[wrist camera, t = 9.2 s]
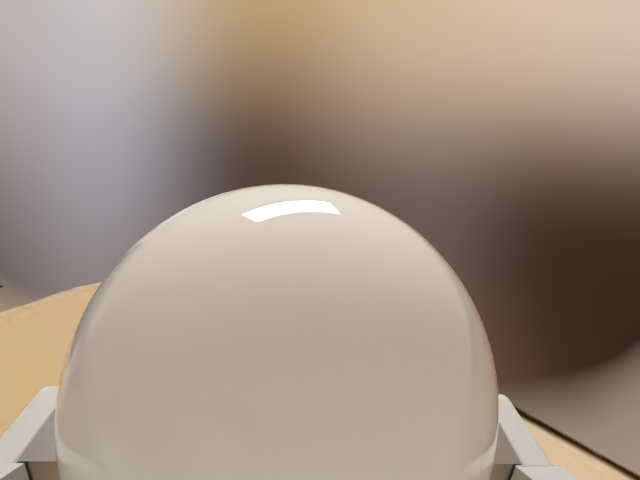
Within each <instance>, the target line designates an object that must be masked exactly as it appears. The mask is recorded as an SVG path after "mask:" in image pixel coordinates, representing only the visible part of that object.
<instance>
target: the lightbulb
mask: <svg viewBox="0 0 640 480" xmlns="http://www.w3.org/2000/svg"><path fill="white" fill-rule="evenodd" d="M498 426H499V400H498V387H497V378H496V372H495V366H494V362H493V357H492V352H491V349H490V345H489V342H488V338H487V335H486V332H485V330H484V327H483V324H482V322H481V319H480V317H479V314H478V312H477V310H476V308H475V306H474V304H473V302H472V300H471V298H470V296H469V294H468V293H467V291H466V289H465V287H464V286H463V284H462V283H461V281H460V279H459V278H458V276H457V275H456V274H455V272H454V271H453V269H452V268H451V267H450V266H449V264H448V263H447V262H446V261H445V259H444V258H443V257H442V256H441V255H440V254H439V252H438V251H437V250H436V249H435V248H434V247H433V246H432V245H431V244H430V243H429V242H428V241H427V240H426V239H425V238H423V237H422V236H421V235H420V234H419V233H418V232H416V231H415V230H414V229H413V228H411V227H410V226H409V225H407V224H406V223H405V222H403V221H401V220H400V219H398V218H397V217H396V216H394V215H392V214H391V213H389V212H387V211H385V210H384V209H382V208H380V207H378V206H376V205H374V204H372V203H369V202H367V201H365V200H362V199H360V198H357V197H354V196H352V195H349V194H346V193H342V192H339V191H335V190H331V189H326V188H321V187H316V186H308V185H295V184H275V185H263V186H255V187H248V188H243V189H238V190H234V191H230V192H226V193H223V194H219V195H217V196H214V197H211V198H208V199H206V200H203V201H201V202H199V203H196V204H194V205H192V206H190V207H188V208H186V209H184V210H182V211H180V212H179V213H177V214H175V215H173V216H172V217H170V218H168V219H167V220H165V221H164V222H163V223H161V224H160V225H158V226H157V227H155V228H154V229H153V230H152V231H150V232H149V233H148V234H146V235H145V236H144V237H143V238H142V239H141V240H139V241H138V242H137V243H136V244H135V245H134V246H133V247H132V248H131V249H130V250H129V251H128V252H127V253H126V254H125V255H124V256H123V257H122V258H121V259H120V260H119V262H117V264H116V265H115V266H114V267H113V268H112V270H111V271H110V272H109V273H108V275H107V276H106V277H105V279H104V280H103V281H102V283H101V284H100V286H99V287H98V289H97V290H96V292H95V293H94V295H93V296H92V298H91V300H90V301H89V303H88V305H87V307H86V308H85V310H84V312H83V314H82V316H81V318H80V320H79V323H78V325H77V327H76V329H75V332H74V334H73V337H72V339H71V342H70V345H69V347H68V350H67V354H66V357H65V360H64V364H63V367H62V372H61V376H60V381H59V386H58V392H57V399H56V409H55V429H54V432H55V454H56V463H57V470H58V476H59V480H490V479H491V475H492V471H493V467H494V461H495V455H496V449H497V440H498Z"/></svg>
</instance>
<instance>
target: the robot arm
mask: <svg viewBox="0 0 640 480" xmlns="http://www.w3.org/2000/svg"><path fill="white" fill-rule="evenodd" d="M57 392H58V386H47V387H45V388H43V389H42V390H40V391H39V392H38V393H37V394H36V395H35V396H34V398H33V399H32V400H31V401H30V402H29V404H28V405H27V406H26V407H25V408H24V410H23V411H22V412H21V413H20V415H19V416H18V417H17V418H16V419H15V421H14V422H13V423H12V424H11V425H10V427H9V428H8V429H7V430H6V431H5V433H4V434H3V435H2V436H1V437H0V480H59V476H58V470H57V463H56V454H55V432H54V429H55V409H56V399H57ZM498 400H499V426H498V440H497V449H496V455H495V461H494V467H493V471H492V475H491V479H490V480H579V479H578V478H576V477H575V476H573V475H572V474H571V473H569V472H568V471H567V470H565V469H564V468H562V467H561V466H552V464H551V463H550V461H549V460H548V458H547V457H546V455H545V454H544V452H543V451H542V449H541V448H540V446H539V445H538V443H537V442H536V440H535V438H534V437H533V435H532V434H531V432H530V431H529V429H528V428H527V426H526V425H525V423H524V422H523V420H522V419H521V417H520V416H519V414H518V413H517V411H516V410H515V408H514V406H513V405H512V403H511V402H510V400H509V399H508V398H507V397H505V396H504V395H498Z"/></svg>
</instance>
